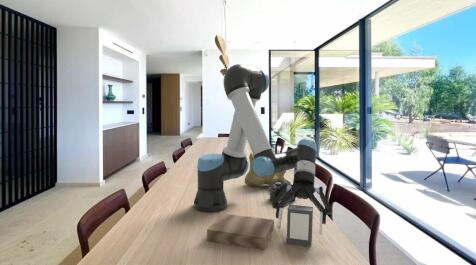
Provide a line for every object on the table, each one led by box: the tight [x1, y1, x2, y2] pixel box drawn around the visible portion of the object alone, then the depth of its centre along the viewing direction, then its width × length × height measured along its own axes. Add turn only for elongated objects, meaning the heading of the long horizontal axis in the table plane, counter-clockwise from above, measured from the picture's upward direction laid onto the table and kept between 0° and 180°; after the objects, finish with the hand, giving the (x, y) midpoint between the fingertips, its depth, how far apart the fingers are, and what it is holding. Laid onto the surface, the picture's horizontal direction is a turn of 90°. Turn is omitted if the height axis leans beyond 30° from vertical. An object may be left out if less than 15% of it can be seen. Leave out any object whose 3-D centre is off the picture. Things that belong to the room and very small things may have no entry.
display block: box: [206, 213, 275, 250], centre depth 108 cm, size 20×16×4 cm
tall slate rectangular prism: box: [286, 204, 314, 248], centre depth 103 cm, size 8×5×12 cm, turn 73°
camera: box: [269, 179, 297, 202], centre depth 149 cm, size 13×10×10 cm
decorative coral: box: [244, 152, 287, 187], centre depth 175 cm, size 26×22×25 cm
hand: (299, 230), depth 101 cm, fingers open, 13 cm apart
